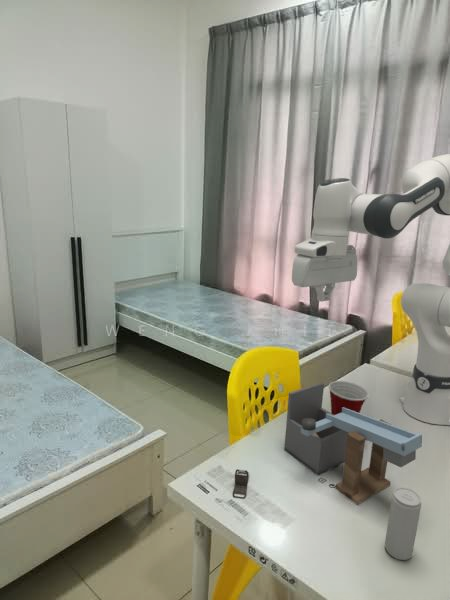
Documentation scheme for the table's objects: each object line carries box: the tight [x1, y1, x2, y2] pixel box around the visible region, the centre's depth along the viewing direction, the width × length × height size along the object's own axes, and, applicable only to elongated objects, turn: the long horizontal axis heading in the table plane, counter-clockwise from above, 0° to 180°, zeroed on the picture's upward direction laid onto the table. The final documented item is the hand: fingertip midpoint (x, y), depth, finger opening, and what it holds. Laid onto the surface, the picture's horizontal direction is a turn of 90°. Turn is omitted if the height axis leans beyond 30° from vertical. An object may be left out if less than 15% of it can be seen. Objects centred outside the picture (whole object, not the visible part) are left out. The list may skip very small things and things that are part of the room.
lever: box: [301, 407, 423, 468], centre depth 90 cm, size 14×20×6 cm
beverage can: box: [384, 487, 422, 561], centre depth 77 cm, size 5×5×12 cm
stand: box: [335, 419, 392, 505], centre depth 94 cm, size 11×6×14 cm, turn 124°
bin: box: [284, 382, 349, 476], centre depth 105 cm, size 12×12×16 cm
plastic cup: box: [328, 380, 370, 415], centre depth 118 cm, size 11×11×12 cm
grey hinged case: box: [232, 469, 250, 500], centre depth 94 cm, size 8×3×4 cm, turn 171°
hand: (323, 300), depth 108 cm, fingers closed
